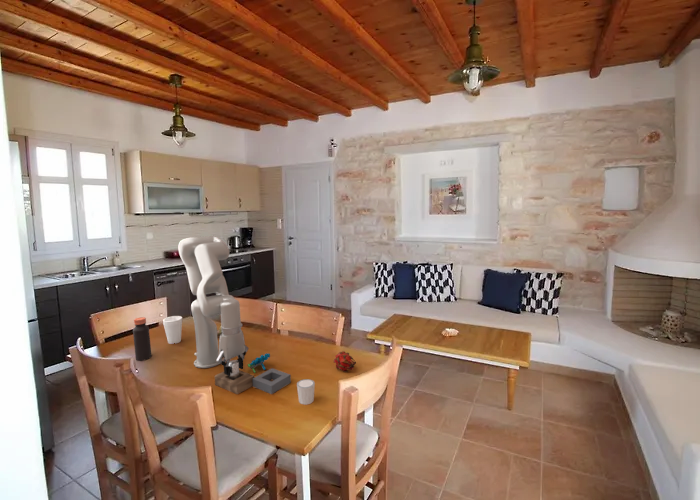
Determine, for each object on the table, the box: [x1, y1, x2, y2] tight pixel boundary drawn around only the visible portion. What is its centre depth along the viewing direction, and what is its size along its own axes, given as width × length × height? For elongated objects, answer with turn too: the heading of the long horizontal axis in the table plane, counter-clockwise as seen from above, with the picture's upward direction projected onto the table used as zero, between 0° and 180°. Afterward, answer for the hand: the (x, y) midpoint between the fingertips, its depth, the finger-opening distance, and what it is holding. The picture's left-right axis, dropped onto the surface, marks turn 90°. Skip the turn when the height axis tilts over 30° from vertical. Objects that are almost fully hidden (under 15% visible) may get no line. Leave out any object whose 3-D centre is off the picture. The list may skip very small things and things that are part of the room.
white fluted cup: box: [296, 378, 316, 406], centre depth 138 cm, size 7×7×7 cm
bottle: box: [132, 316, 152, 362], centre depth 177 cm, size 7×7×20 cm
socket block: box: [252, 368, 292, 395], centre depth 151 cm, size 11×11×4 cm
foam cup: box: [162, 315, 183, 345], centre depth 198 cm, size 10×9×13 cm
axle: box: [229, 359, 240, 380], centre depth 150 cm, size 4×4×10 cm
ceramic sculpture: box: [217, 325, 222, 338], centre depth 207 cm, size 11×9×15 cm
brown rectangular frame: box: [214, 369, 255, 395], centre depth 151 cm, size 14×9×4 cm, turn 56°
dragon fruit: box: [333, 350, 357, 373], centre depth 163 cm, size 8×8×12 cm
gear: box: [247, 353, 271, 374], centre depth 165 cm, size 11×6×10 cm
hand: (234, 371), depth 150 cm, fingers open, 5 cm apart
